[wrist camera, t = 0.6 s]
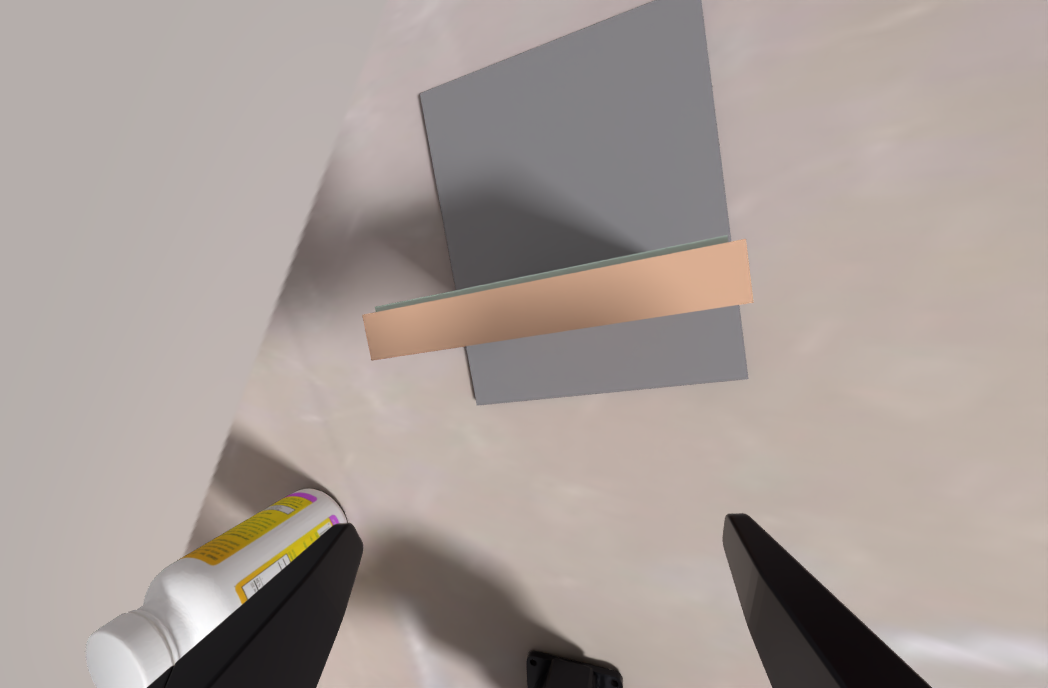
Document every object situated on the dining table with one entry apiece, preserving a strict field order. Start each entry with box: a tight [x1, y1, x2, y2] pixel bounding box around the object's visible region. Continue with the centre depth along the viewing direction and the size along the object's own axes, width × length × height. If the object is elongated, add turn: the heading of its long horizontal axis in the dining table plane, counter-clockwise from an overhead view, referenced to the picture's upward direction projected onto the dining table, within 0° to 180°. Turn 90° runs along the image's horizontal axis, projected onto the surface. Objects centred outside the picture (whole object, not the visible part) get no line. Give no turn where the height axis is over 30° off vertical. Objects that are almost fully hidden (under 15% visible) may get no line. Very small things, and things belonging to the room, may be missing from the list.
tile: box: [362, 235, 754, 360], centre depth 16 cm, size 2×11×12 cm, turn 100°
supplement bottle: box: [86, 489, 347, 688], centre depth 25 cm, size 7×7×13 cm
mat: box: [420, 0, 748, 405], centre depth 22 cm, size 20×16×1 cm
